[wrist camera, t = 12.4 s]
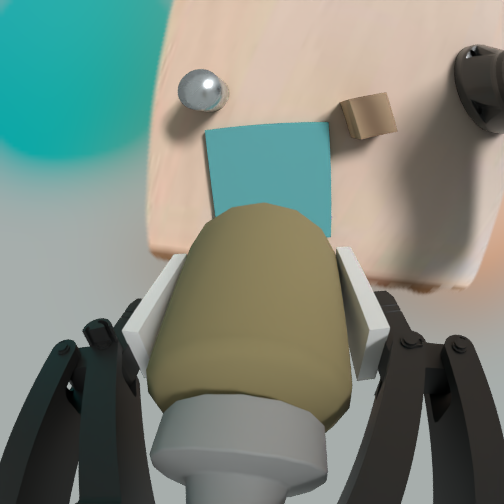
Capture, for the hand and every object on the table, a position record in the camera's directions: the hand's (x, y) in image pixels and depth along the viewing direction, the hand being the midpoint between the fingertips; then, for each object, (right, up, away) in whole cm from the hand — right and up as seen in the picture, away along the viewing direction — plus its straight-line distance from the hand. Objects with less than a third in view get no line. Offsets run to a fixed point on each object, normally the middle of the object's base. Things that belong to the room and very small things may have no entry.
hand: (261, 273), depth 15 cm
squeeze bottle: (0, +1, +3) cm, 4 cm away
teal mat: (+2, +11, +22) cm, 25 cm away
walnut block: (+14, +19, +17) cm, 29 cm away
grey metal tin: (-6, +22, +17) cm, 29 cm away
